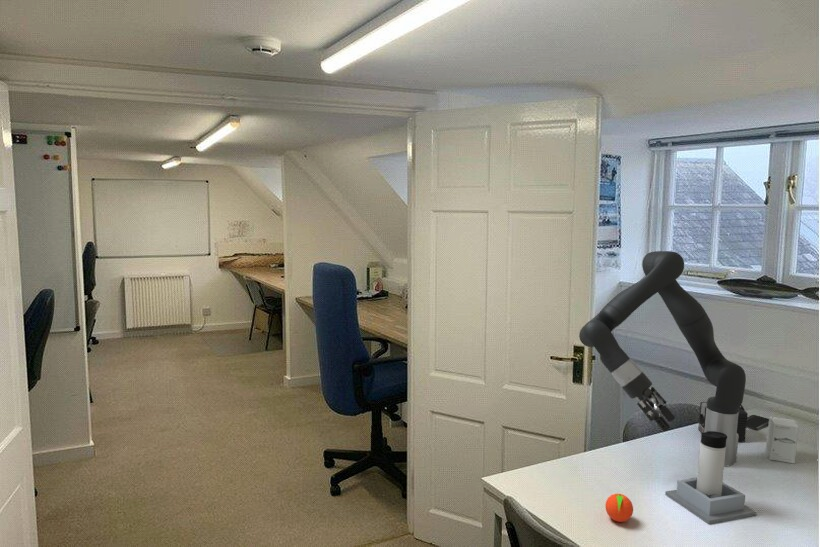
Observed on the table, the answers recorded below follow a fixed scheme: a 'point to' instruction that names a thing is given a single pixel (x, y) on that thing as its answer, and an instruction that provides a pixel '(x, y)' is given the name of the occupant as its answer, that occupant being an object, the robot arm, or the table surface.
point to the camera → (740, 426)
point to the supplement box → (782, 439)
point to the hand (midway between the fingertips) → (670, 424)
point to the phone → (756, 422)
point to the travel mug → (711, 463)
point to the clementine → (619, 507)
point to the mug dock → (710, 502)
